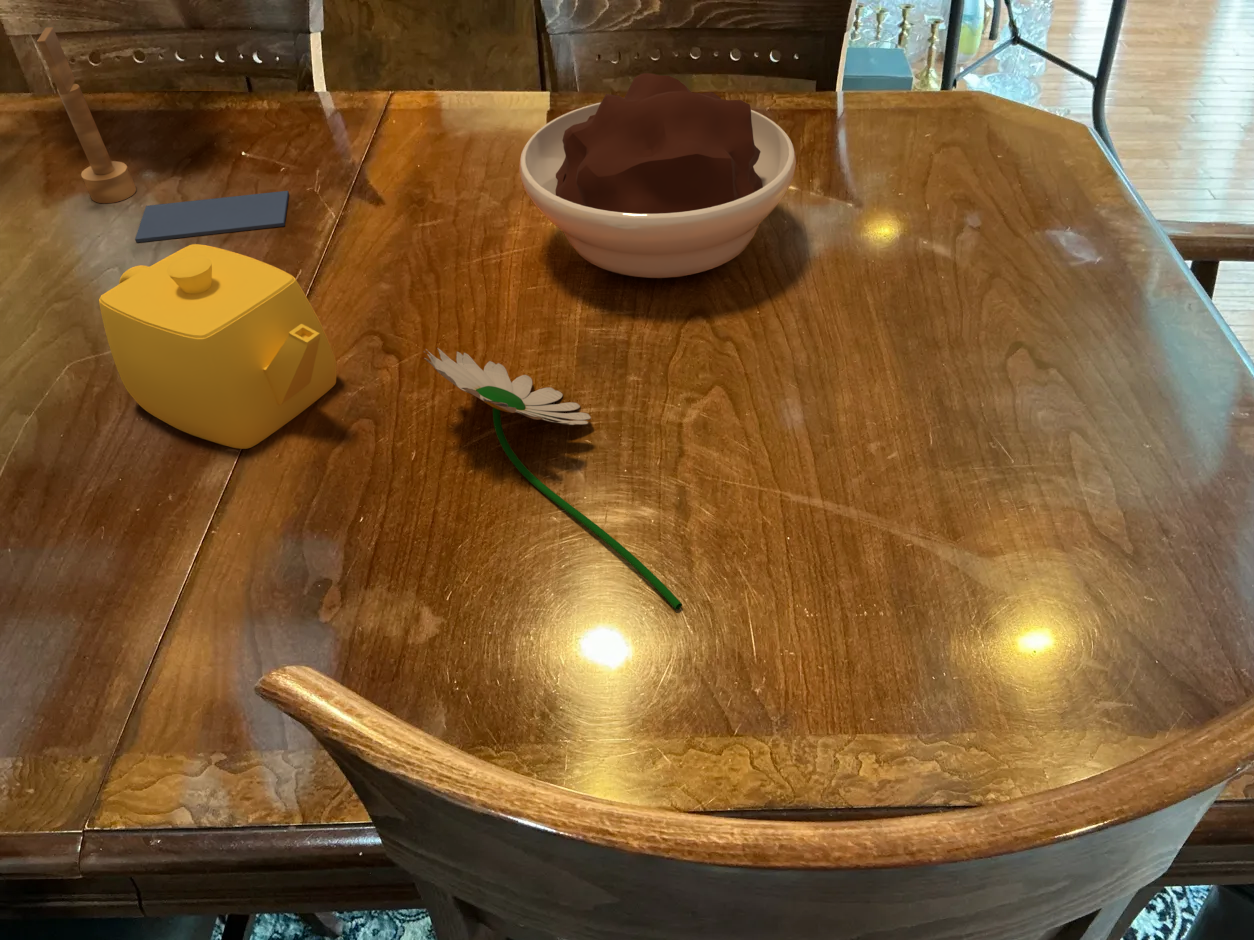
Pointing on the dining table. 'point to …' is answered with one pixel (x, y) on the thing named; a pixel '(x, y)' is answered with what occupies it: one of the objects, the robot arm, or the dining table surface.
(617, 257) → the bowl of brown chunks
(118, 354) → the teapot
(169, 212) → the blue-grey rectangular slab
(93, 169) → the wooden peg
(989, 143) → the dining table surface
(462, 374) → the flower
